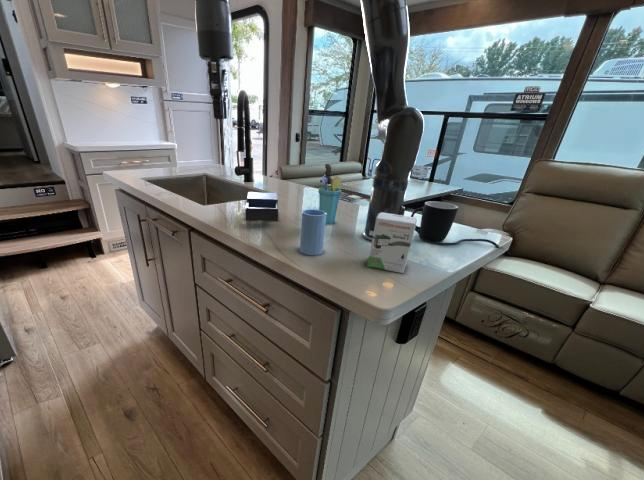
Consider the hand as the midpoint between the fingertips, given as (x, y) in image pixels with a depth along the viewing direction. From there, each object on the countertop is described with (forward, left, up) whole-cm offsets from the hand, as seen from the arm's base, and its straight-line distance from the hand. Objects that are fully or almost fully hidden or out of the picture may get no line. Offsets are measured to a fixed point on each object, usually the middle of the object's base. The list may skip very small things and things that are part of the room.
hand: (221, 118), depth 76 cm
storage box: (-10, -16, -29) cm, 34 cm away
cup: (-31, -15, -29) cm, 45 cm away
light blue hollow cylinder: (-23, +12, -29) cm, 38 cm away
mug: (-60, -1, -29) cm, 66 cm away
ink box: (-40, +21, -29) cm, 53 cm away
